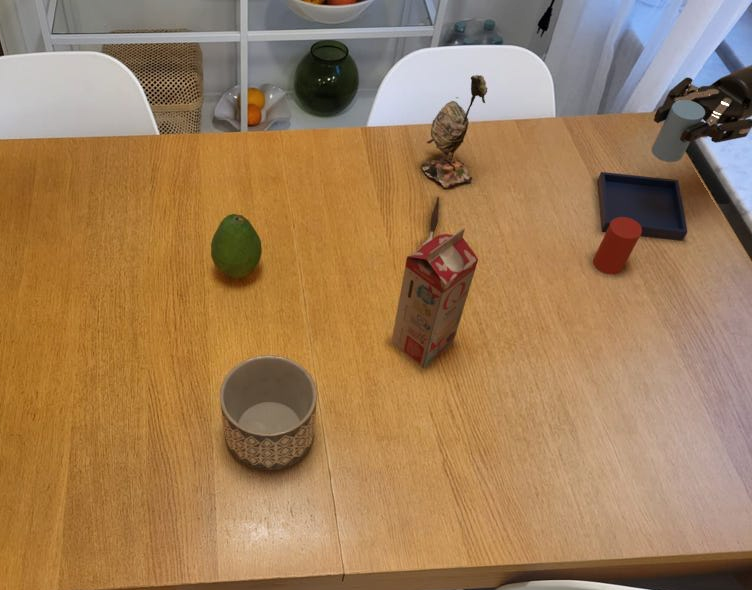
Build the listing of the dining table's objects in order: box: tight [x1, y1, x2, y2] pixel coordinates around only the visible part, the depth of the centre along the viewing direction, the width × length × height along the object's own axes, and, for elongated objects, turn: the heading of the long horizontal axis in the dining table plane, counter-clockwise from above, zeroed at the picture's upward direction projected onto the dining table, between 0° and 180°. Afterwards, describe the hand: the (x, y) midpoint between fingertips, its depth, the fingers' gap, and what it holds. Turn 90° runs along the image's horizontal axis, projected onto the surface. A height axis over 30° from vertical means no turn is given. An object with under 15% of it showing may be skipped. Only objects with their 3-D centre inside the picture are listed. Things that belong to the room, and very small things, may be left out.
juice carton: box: [390, 227, 479, 369], centre depth 106 cm, size 7×7×22 cm
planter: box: [219, 354, 318, 471], centre depth 102 cm, size 13×13×10 cm
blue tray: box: [596, 171, 688, 241], centre depth 130 cm, size 13×13×2 cm
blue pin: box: [651, 100, 705, 163], centre depth 118 cm, size 5×5×8 cm
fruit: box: [210, 213, 263, 279], centre depth 119 cm, size 8×8×12 cm
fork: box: [420, 196, 440, 247], centre depth 128 cm, size 3×16×2 cm, turn 166°
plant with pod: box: [420, 74, 489, 188], centre depth 130 cm, size 8×11×20 cm
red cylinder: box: [592, 217, 642, 275], centre depth 121 cm, size 5×5×8 cm
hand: (670, 126), depth 116 cm, fingers closed on blue pin, 4 cm apart
